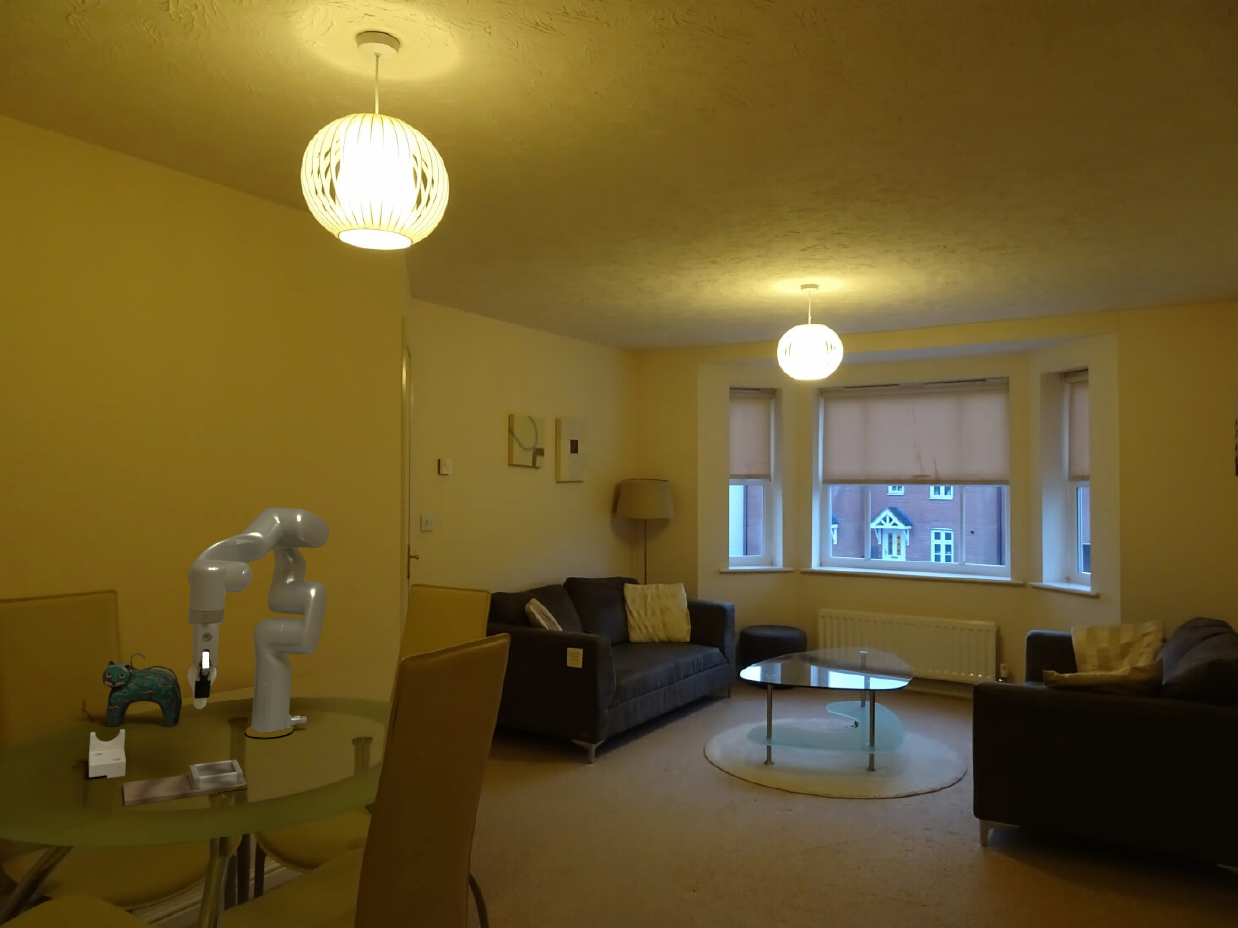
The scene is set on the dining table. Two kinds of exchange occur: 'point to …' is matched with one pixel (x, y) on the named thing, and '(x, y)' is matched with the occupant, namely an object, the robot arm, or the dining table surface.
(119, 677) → the ceramic cat
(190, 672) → the lightbulb
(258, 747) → the dining table surface
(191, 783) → the wooden board with tray
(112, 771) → the bracket
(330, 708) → the dining table surface
